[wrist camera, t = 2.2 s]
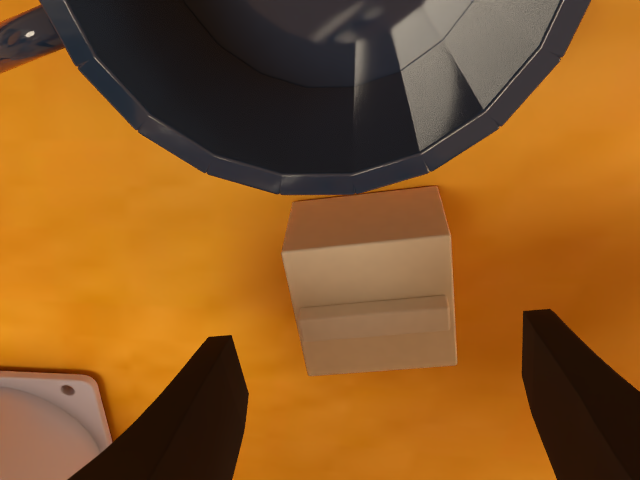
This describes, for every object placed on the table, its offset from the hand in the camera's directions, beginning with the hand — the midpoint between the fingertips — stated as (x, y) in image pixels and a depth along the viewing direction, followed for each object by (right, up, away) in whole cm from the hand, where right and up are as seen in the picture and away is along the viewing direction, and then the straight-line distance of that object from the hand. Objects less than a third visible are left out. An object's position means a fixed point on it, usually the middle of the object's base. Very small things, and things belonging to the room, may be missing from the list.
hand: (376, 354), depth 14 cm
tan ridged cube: (0, +2, +4) cm, 5 cm away
